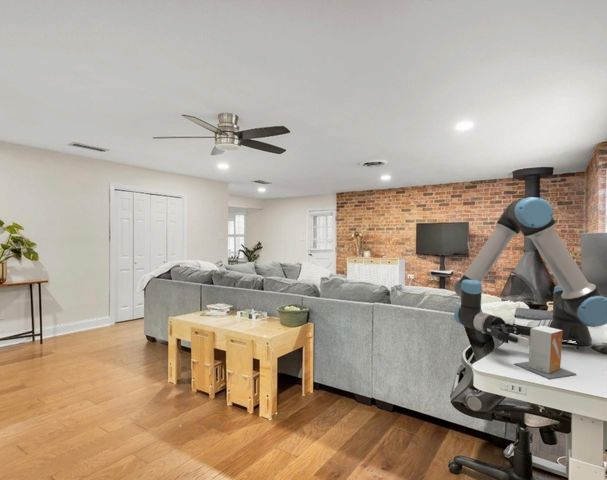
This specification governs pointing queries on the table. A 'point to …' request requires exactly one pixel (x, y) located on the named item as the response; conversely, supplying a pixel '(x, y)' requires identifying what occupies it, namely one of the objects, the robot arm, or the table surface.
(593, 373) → the table surface
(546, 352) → the small box
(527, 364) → the slate mat
